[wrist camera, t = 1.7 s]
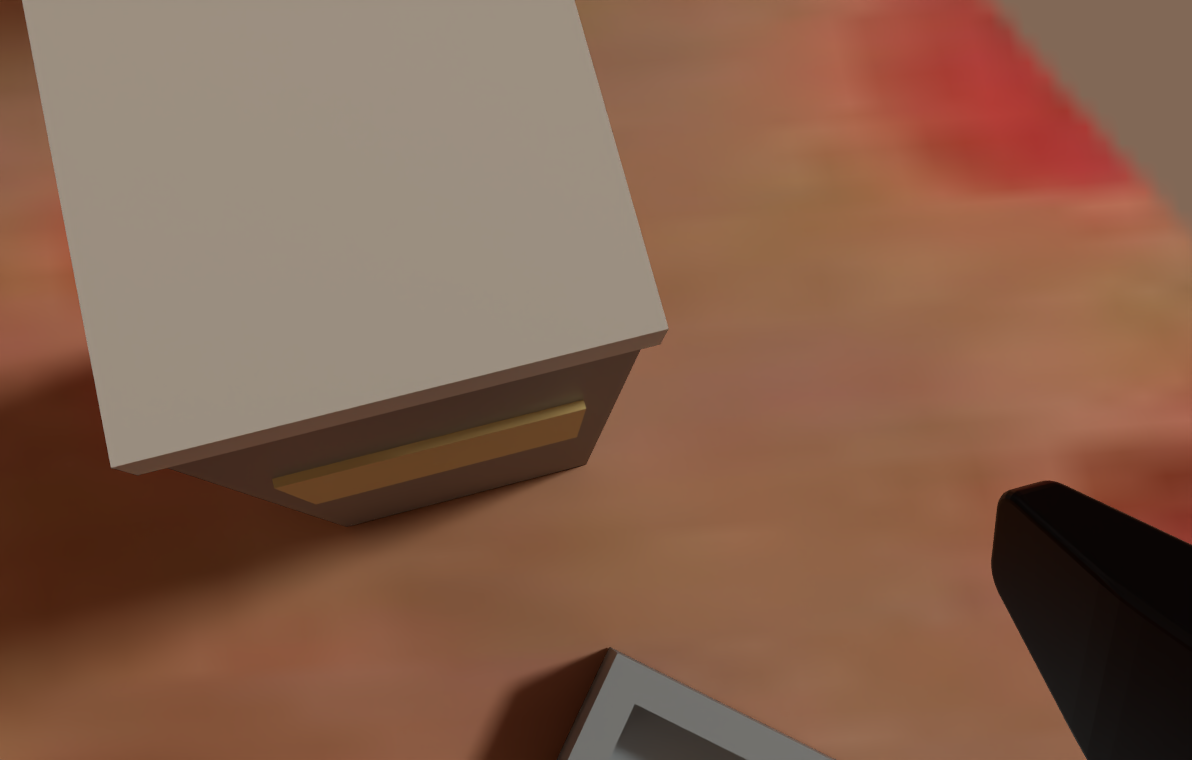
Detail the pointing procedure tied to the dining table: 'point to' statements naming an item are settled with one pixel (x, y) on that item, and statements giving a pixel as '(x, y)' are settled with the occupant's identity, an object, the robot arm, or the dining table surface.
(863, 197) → the dining table surface
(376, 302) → the grey tall block
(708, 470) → the dining table surface
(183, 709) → the dining table surface
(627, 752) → the tray
